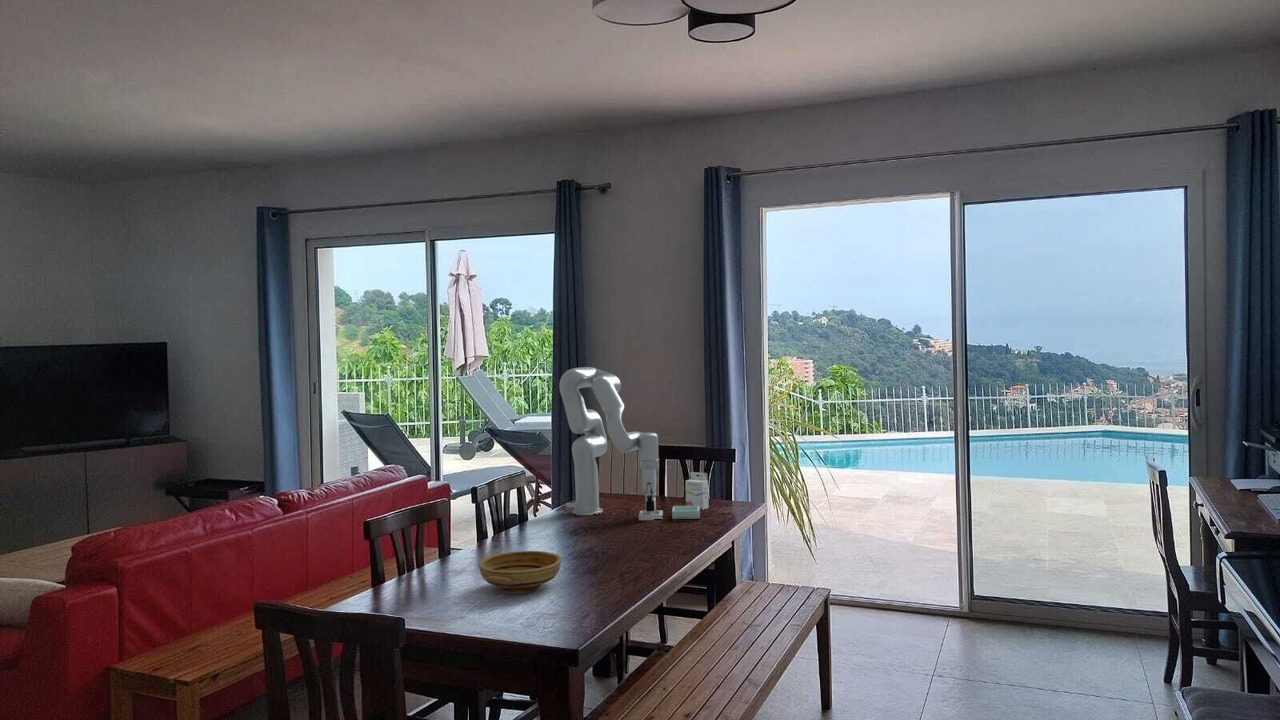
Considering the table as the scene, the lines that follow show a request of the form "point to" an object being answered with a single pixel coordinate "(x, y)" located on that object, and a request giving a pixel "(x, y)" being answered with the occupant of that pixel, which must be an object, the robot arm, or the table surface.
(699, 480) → the ink cartridge box
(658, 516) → the white square dish
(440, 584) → the table surface
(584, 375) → the robot arm
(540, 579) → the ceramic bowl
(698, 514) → the tray
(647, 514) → the fuse
